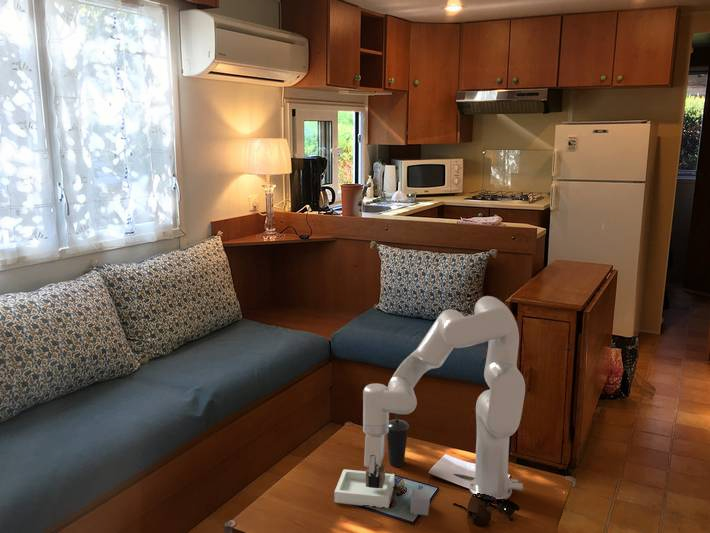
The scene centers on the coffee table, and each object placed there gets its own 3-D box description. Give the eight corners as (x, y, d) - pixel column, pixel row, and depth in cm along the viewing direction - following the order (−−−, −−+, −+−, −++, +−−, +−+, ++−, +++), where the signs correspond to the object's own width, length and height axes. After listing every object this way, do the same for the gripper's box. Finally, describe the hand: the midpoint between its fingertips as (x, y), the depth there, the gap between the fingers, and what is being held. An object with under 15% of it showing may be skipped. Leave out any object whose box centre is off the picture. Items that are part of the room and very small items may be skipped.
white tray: (394, 484, 204) (394, 474, 203) (388, 508, 192) (388, 497, 191) (343, 479, 207) (343, 469, 206) (334, 502, 195) (334, 491, 194)
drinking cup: (406, 470, 212) (407, 412, 208) (383, 467, 214) (383, 410, 210) (409, 458, 220) (410, 402, 215) (386, 456, 221) (387, 400, 217)
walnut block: (368, 477, 201) (368, 462, 200) (384, 479, 200) (385, 464, 199) (365, 486, 196) (365, 471, 195) (382, 488, 195) (382, 472, 194)
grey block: (429, 506, 193) (429, 490, 192) (427, 515, 188) (428, 500, 187) (412, 504, 194) (412, 488, 193) (410, 513, 189) (410, 498, 188)
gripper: (368, 412, 203) (367, 466, 207) (357, 438, 187) (357, 496, 190) (392, 414, 201) (391, 469, 205) (384, 440, 185) (383, 499, 189)
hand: (375, 481), depth 198 cm, fingers closed on walnut block, 5 cm apart
